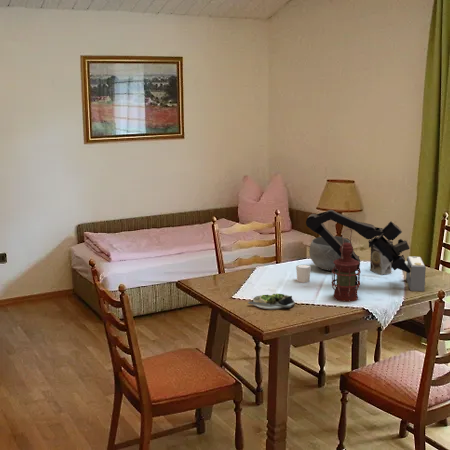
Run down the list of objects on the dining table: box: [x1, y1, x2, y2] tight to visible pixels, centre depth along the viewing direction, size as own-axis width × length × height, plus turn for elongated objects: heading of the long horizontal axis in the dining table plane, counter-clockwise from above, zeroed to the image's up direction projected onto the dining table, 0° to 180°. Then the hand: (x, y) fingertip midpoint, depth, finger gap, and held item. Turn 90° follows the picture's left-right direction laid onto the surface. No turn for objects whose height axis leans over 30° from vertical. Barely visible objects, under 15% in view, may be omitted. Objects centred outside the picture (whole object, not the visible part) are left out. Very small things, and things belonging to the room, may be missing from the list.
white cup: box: [295, 264, 312, 284], centre depth 295 cm, size 7×7×7 cm
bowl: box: [308, 235, 350, 272], centre depth 314 cm, size 20×20×15 cm
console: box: [405, 256, 426, 292], centre depth 285 cm, size 6×18×12 cm, turn 170°
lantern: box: [331, 228, 362, 303], centre depth 267 cm, size 12×12×30 cm
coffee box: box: [369, 238, 394, 276], centre depth 307 cm, size 9×6×16 cm
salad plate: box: [247, 293, 295, 310], centre depth 263 cm, size 19×18×5 cm
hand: (409, 272), depth 280 cm, fingers closed, pressing on brass button
